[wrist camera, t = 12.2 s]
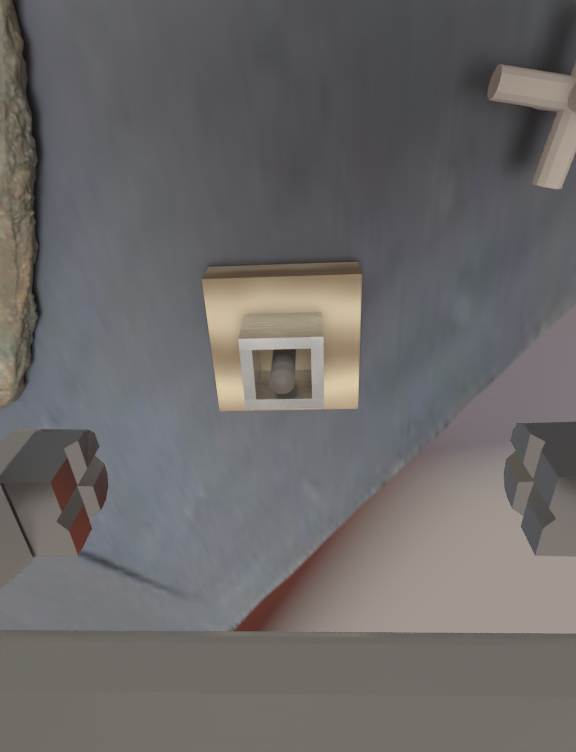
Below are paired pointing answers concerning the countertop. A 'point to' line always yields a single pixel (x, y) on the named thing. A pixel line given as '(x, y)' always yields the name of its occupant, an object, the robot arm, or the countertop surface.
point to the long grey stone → (15, 211)
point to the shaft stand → (286, 295)
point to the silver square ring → (282, 335)
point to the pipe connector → (549, 93)
